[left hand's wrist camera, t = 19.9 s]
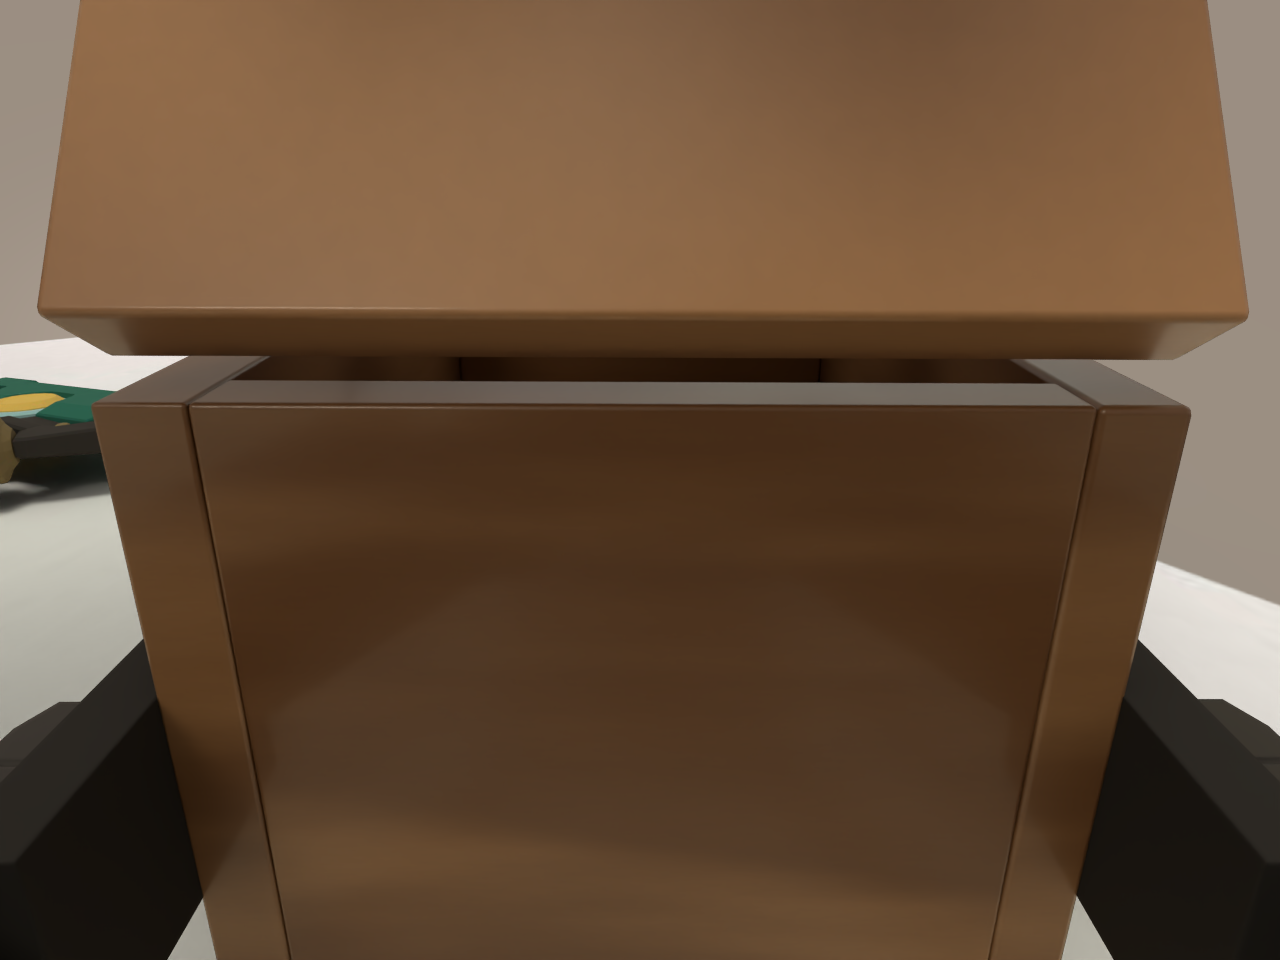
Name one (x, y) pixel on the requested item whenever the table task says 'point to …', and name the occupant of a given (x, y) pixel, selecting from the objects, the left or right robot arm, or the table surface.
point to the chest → (639, 646)
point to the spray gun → (45, 422)
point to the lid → (644, 180)
